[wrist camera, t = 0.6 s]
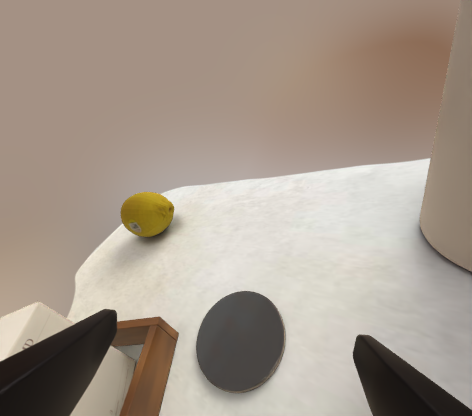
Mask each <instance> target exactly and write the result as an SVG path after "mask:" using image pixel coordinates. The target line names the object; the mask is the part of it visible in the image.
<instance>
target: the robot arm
mask: <svg viewBox="0 0 472 416" xmlns="http://www.w3.org/2000/svg"><path fill="white" fill-rule="evenodd" d="M116 333H117V313H116V311H115V310H110V309H104V310H102V311H100V312H98V313H96V314H94V315H92V316H90V317H88V318H86V319H84V320H82V321H80V322H78V323H76V324H74V325H72V326H70V327H68V328H66V329H64V330H62V331H60V332H58V333H56V334H54V335H52V336H50V337H48V338H46V339H44V340H42V341H40V342H38V343H36V344H34V345H32V346H30V347H28V348H26V349H24V350H22V351H20V352H18V353H16V354H14V355H12V356H10V357H8V358H6V359H4V360H2V361H0V416H70V415H71V413H72V412H73V410H74V408H75V407H76V405H77V404H78V402H79V401H80V399H81V397H82V396H83V394H84V393H85V391H86V389H87V388H88V386H89V385H90V383H91V381H92V380H93V378H94V376H95V374H96V372H97V370H98V369H99V367H100V365H101V363H102V361H103V359H104V357H105V355H106V353H107V351H108V349H109V347H110V345H111V344H112V342H113V340H114V338H115V336H116ZM353 359H354V363H355V366H356V369H357V371H358V374H359V377H360V380H361V383H362V386H363V389H364V392H365V395H366V398H367V401H368V404H369V407H370V409H371V412H372V414H373V416H472V410H471V409H470V408H468V407H467V406H465V405H464V404H463V403H461V402H460V401H459V400H457V399H456V398H455V397H453V396H452V395H450V394H449V393H448V392H446V391H445V390H444V389H442V388H441V387H440V386H438V385H437V384H435V383H434V382H433V381H431V380H430V379H429V378H427V377H426V376H425V375H423V374H422V373H420V372H419V371H418V370H416V369H415V368H414V367H412V366H411V365H410V364H408V363H407V362H406V361H404V360H403V359H401V358H400V357H399V356H397V355H396V354H395V353H393V352H392V351H391V350H389V349H388V348H386V347H385V346H384V345H382V344H381V343H380V342H378V341H377V340H376V339H374V338H373V337H371V336H369V335H358V336H357V338H356V342H355V346H354V351H353Z"/></svg>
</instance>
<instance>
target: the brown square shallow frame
mask: <svg viewBox="0 0 472 416" xmlns="http://www.w3.org/2000/svg"><path fill="white" fill-rule="evenodd" d="M178 334H179V333H178V332H176V331H175V330H174V329H173V328H172V327H171V326H170V325H169V324H167V323H166V322H165V321H164V320H163V319H162V318H161V317H153V318H144V319H136V320H128V321H120V322H117V333H116V336H115V338H114V340H113V342H112V344H111V346H112V347H113V346H124V345H136V344H144V346H143V349H142V352H141V354H140V357H139V360H138V363H137V366H136V369H135V372H134V375H133V377H132V380H131V383H130V386H129V389H128V392H127V395H126V398H125V400H124V403H123V406H122V409H121V412H120V415H119V416H158V415H159V411H160V407H161V403H162V399H163V395H164V391H165V387H166V383H167V379H168V375H169V371H170V367H171V363H172V358H173V354H174V350H175V346H176V342H177V338H178Z"/></svg>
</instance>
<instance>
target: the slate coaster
mask: <svg viewBox="0 0 472 416" xmlns="http://www.w3.org/2000/svg"><path fill="white" fill-rule="evenodd" d="M284 347H285V328H284V323H283V320H282V318H281V315H280V313H279V311H278V310H277V308H276V306H275V305H274V304H273V303H272V302H271V301H270V300H269V299H268V298H266V297H265V296H263V295H261V294H258V293H255V292H251V291H241V292H236V293H233V294H230V295H228V296H226V297H224V298H222V299H221V300H220V301H218V302H217V303H216V304H215V305H214V306H213V307H212V308H211V309H210V310H209V312H208V313H207V314H206V316H205V318H204V319H203V322H202V324H201V326H200V329H199V332H198V337H197V358H198V362H199V365H200V368H201V370H202V372H203V374H204V375H205V376H206V378H207V379H208V380H209V381H210V382H211V383H212V384H213V385H215V386H216V387H218V388H219V389H221V390H224V391H227V392H230V393H243V392H247V391H251V390H253V389H255V388H257V387H259V386H260V385H262V384H263V383H264V382H266V381H267V380H268V379H269V378H270V377H271V375H272V374H273V373H274V372H275V370H276V369H277V367H278V365H279V363H280V361H281V358H282V355H283V352H284Z"/></svg>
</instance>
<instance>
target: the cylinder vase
mask: <svg viewBox="0 0 472 416" xmlns="http://www.w3.org/2000/svg"><path fill="white" fill-rule="evenodd" d="M420 227H421V230H422V232H423V234H424V236H425V238H426V239H427V241H428V242H429V243H430V244H431V245H432V246H433V247H434V248H435V249H436V250H437V251H438V252H439V253H440V254H442V255H443V256H444V257H446V258H447V259H449V260H450V261H452V262H454V263H455V264H457V265H459V266H461V267H463V268H465V269H467V270H469V271H471V272H472V0H461V1H460V7H459V13H458V17H457V23H456V28H455V33H454V38H453V44H452V50H451V54H450V60H449V65H448V70H447V75H446V81H445V86H444V91H443V97H442V102H441V107H440V112H439V118H438V124H437V129H436V134H435V139H434V144H433V150H432V155H431V160H430V165H429V171H428V176H427V181H426V187H425V192H424V197H423V202H422V208H421V213H420Z"/></svg>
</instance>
